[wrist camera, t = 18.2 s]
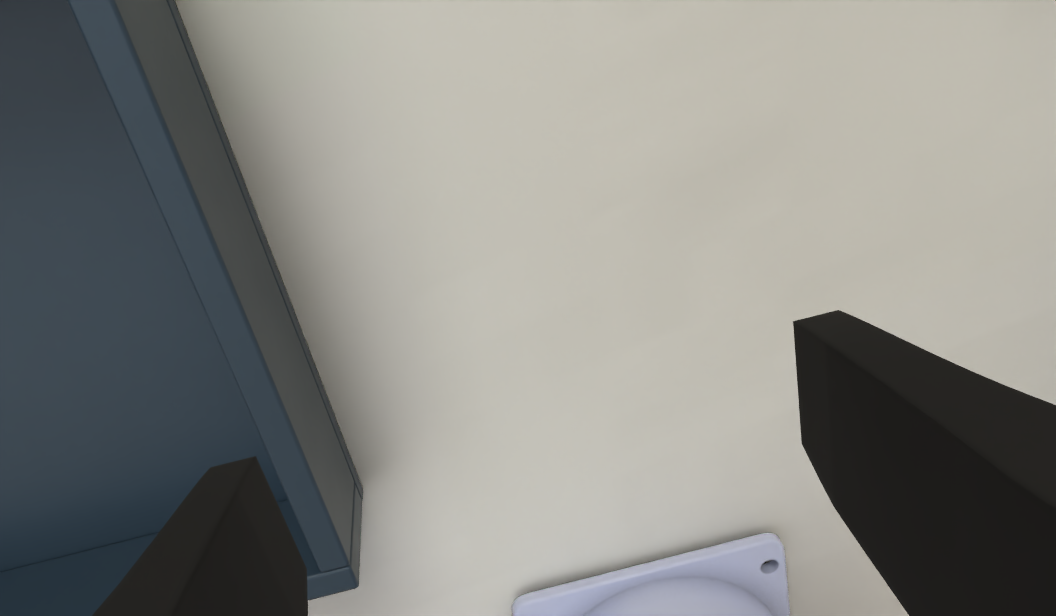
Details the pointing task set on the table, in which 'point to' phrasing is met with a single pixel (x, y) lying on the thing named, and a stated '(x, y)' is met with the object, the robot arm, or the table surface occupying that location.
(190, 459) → the bin
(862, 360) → the robot arm
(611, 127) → the table surface
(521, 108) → the table surface
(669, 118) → the table surface
